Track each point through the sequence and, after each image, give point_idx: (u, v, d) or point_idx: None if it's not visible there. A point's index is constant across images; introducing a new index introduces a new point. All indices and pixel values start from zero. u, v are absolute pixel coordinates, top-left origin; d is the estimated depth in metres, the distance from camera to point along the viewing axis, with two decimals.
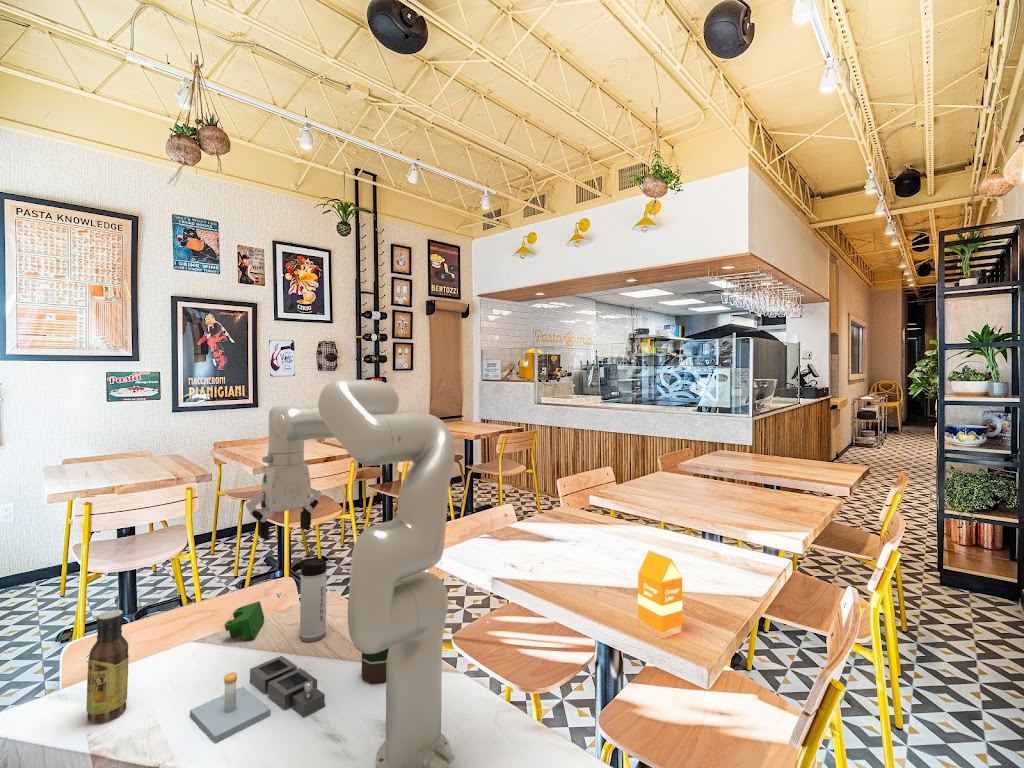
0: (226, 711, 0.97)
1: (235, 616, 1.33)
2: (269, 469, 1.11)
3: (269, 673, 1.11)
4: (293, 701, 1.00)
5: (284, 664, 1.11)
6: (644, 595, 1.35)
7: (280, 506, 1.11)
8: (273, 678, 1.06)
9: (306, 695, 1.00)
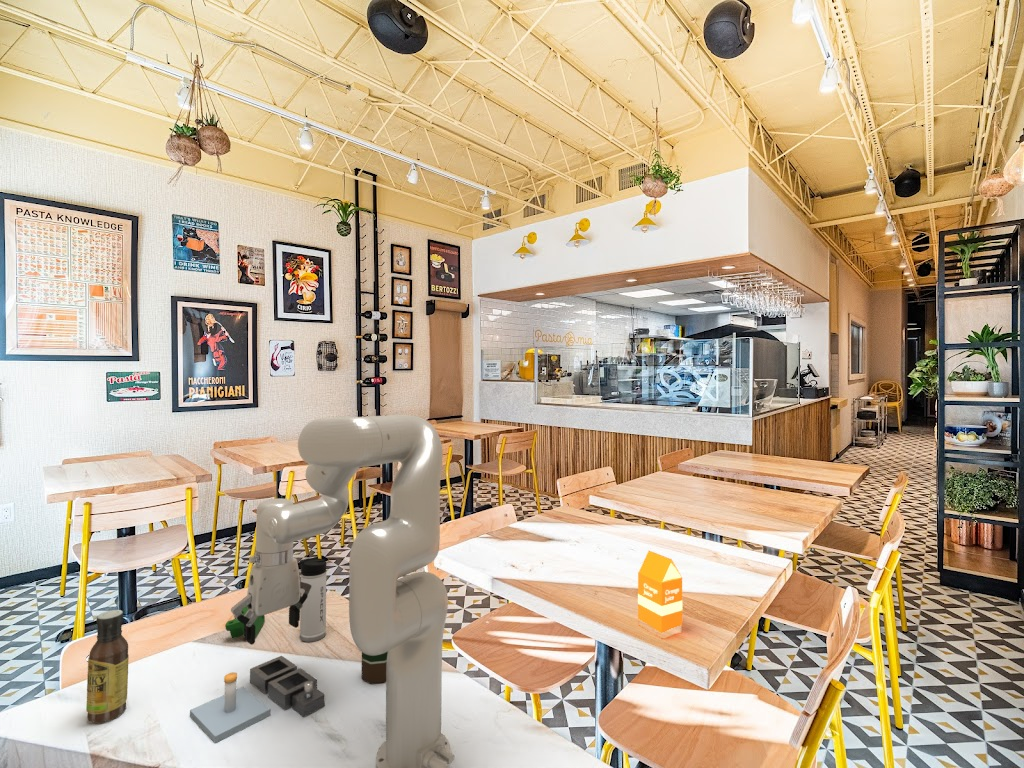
0: (226, 711, 0.97)
1: None
2: (256, 570, 1.06)
3: (269, 673, 1.11)
4: (293, 701, 1.00)
5: (284, 664, 1.11)
6: (644, 595, 1.35)
7: (267, 608, 1.06)
8: (273, 678, 1.06)
9: (306, 695, 1.00)
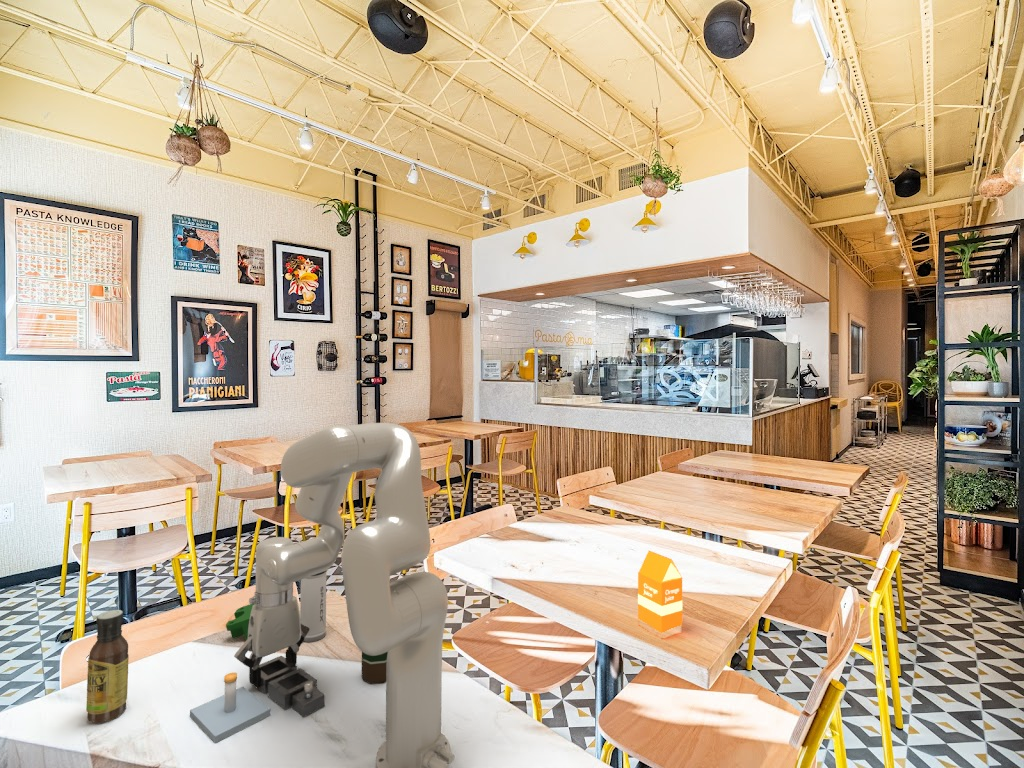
0: (226, 711, 0.97)
1: (236, 616, 1.33)
2: (256, 611, 1.06)
3: (269, 673, 1.11)
4: (293, 701, 1.00)
5: (284, 664, 1.11)
6: (644, 595, 1.35)
7: (268, 650, 1.06)
8: (273, 678, 1.06)
9: (306, 695, 1.00)
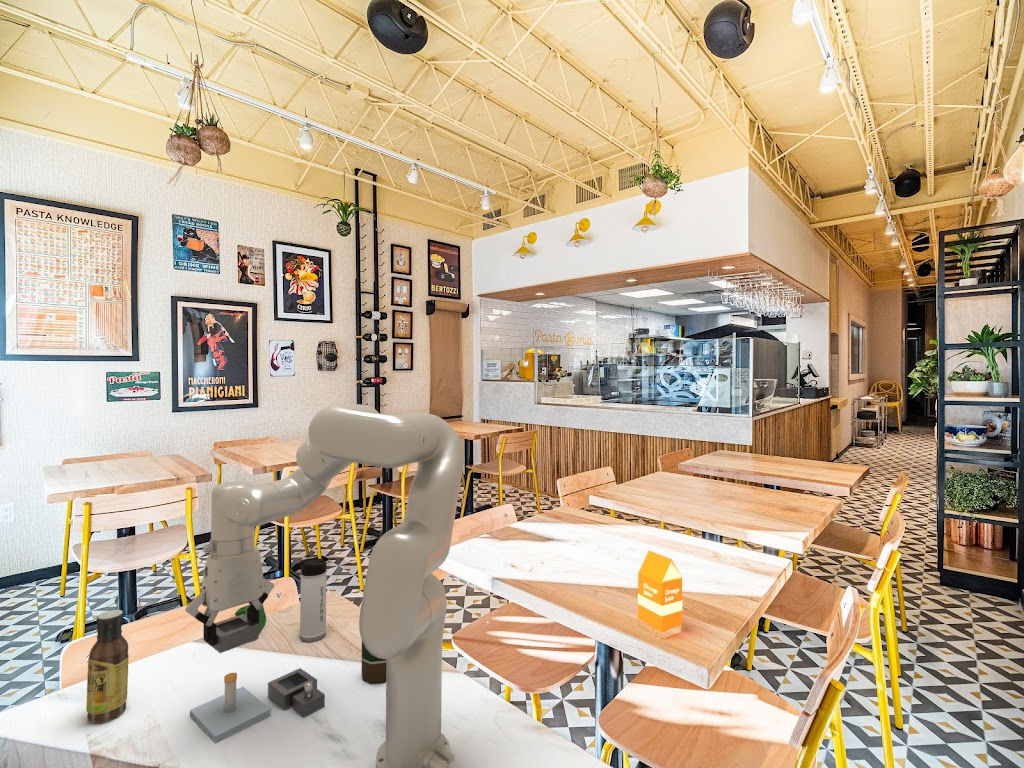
0: (226, 711, 0.97)
1: None
2: (210, 561, 0.94)
3: (228, 632, 1.00)
4: (293, 701, 1.00)
5: (244, 622, 1.00)
6: (644, 595, 1.35)
7: (224, 604, 0.95)
8: (230, 635, 0.95)
9: (306, 695, 1.00)
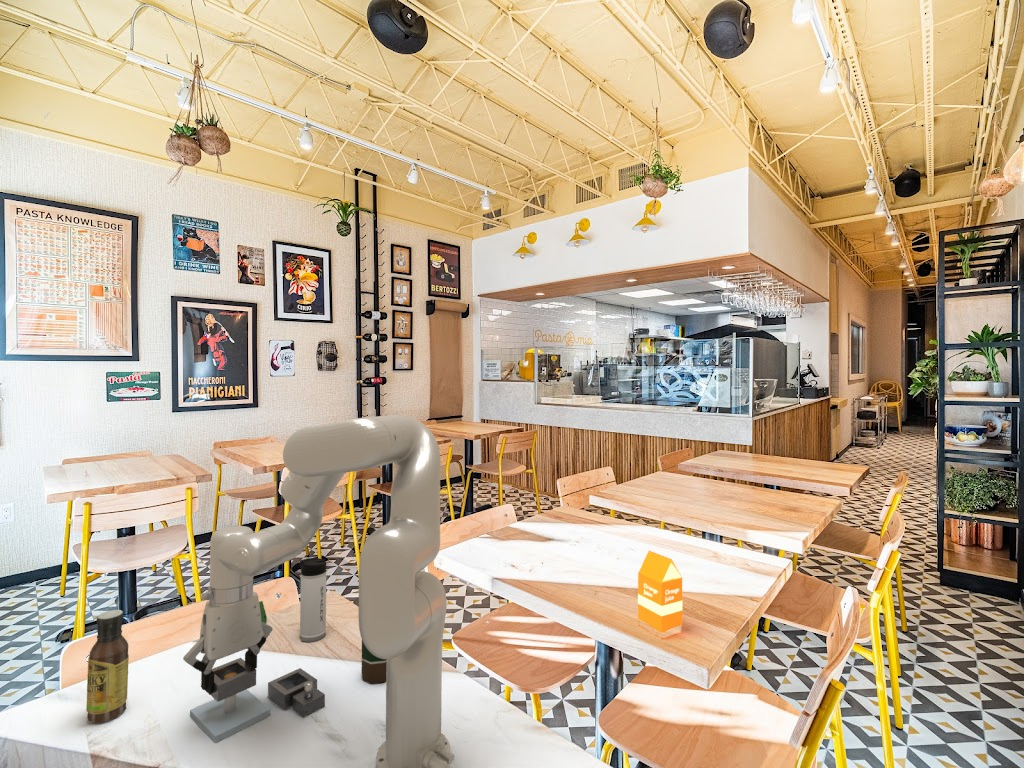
0: (226, 711, 0.97)
1: None
2: (209, 609, 0.94)
3: None
4: (293, 701, 1.00)
5: (242, 667, 1.00)
6: (644, 595, 1.35)
7: (222, 652, 0.94)
8: (228, 683, 0.95)
9: (306, 695, 1.00)
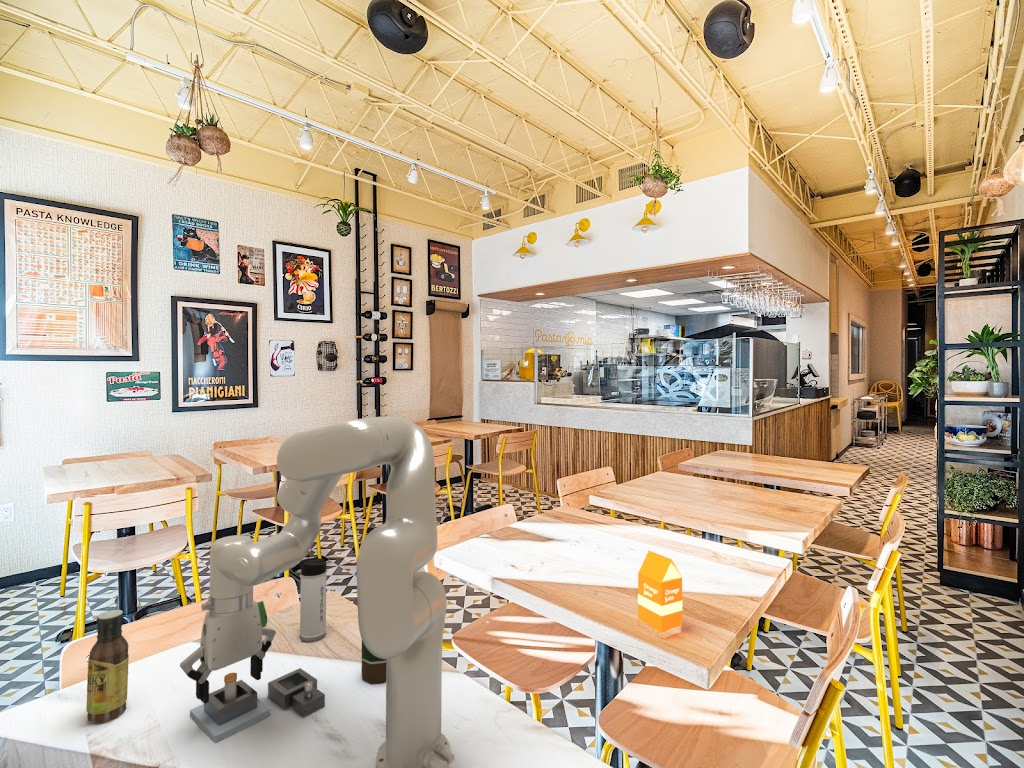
0: None
1: None
2: (209, 619, 0.94)
3: None
4: (293, 701, 1.00)
5: (243, 690, 1.00)
6: (644, 595, 1.35)
7: (222, 662, 0.94)
8: (229, 707, 0.95)
9: (306, 695, 1.00)
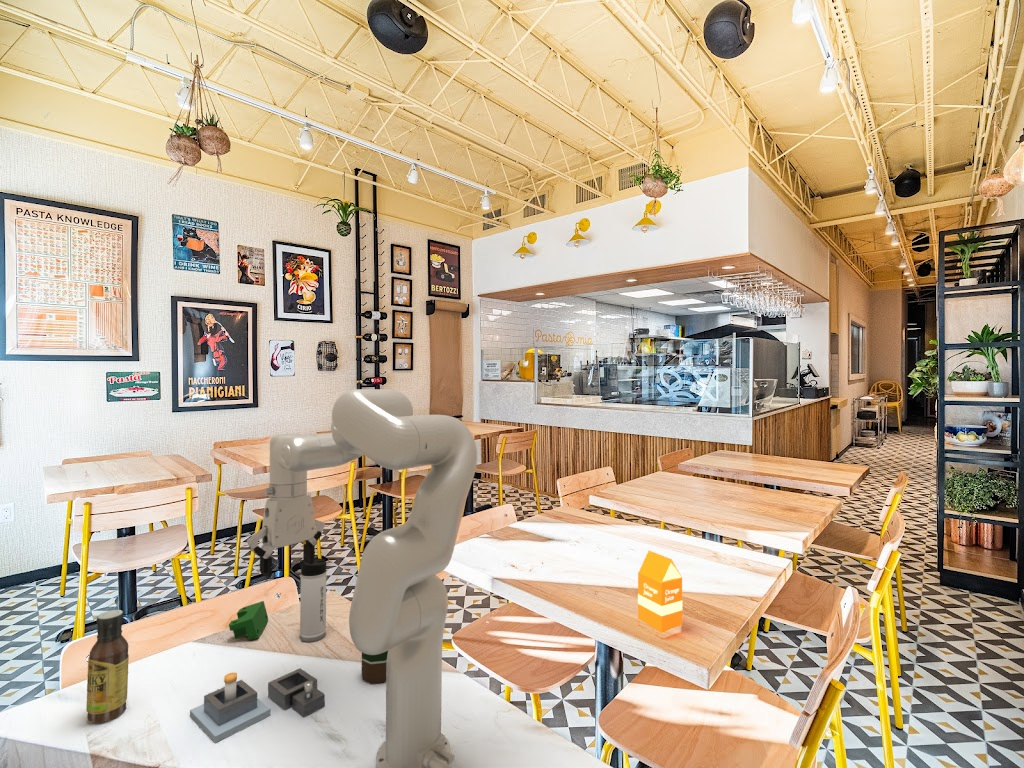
0: None
1: (239, 616, 1.34)
2: (271, 502, 1.05)
3: None
4: (293, 701, 1.00)
5: (243, 690, 1.00)
6: (644, 595, 1.35)
7: (283, 541, 1.05)
8: (229, 707, 0.95)
9: (306, 695, 1.00)
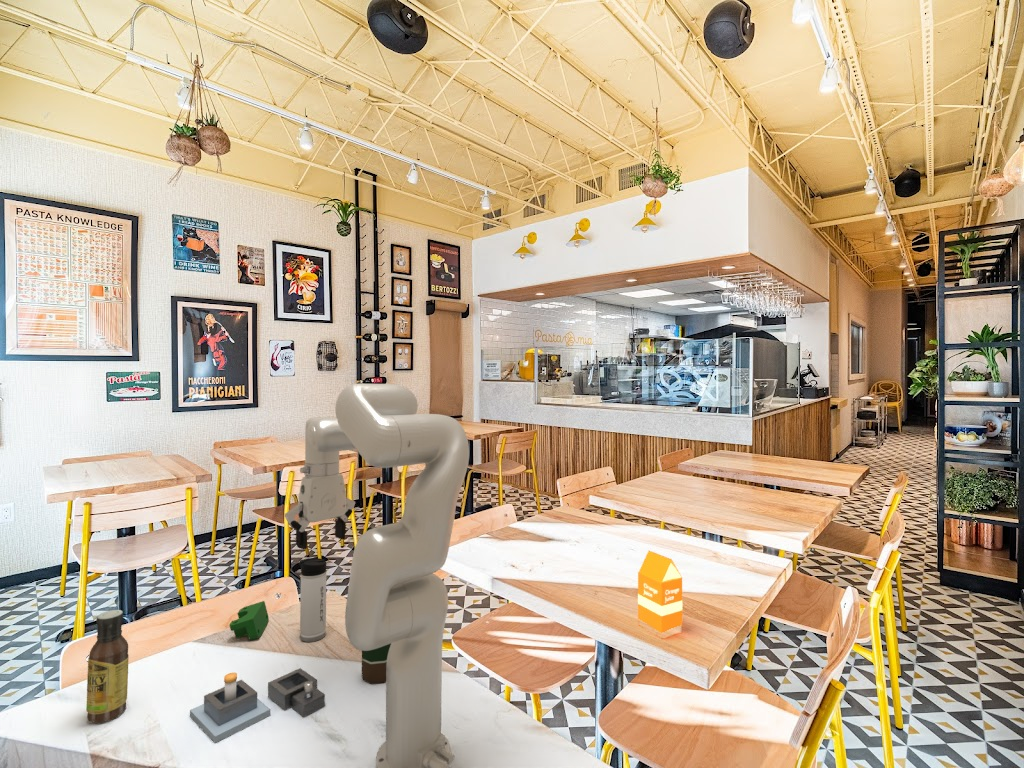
0: None
1: (240, 616, 1.34)
2: (307, 480, 1.13)
3: None
4: (293, 701, 1.00)
5: (243, 690, 1.00)
6: (644, 595, 1.35)
7: (318, 516, 1.13)
8: (229, 707, 0.95)
9: (306, 695, 1.00)
